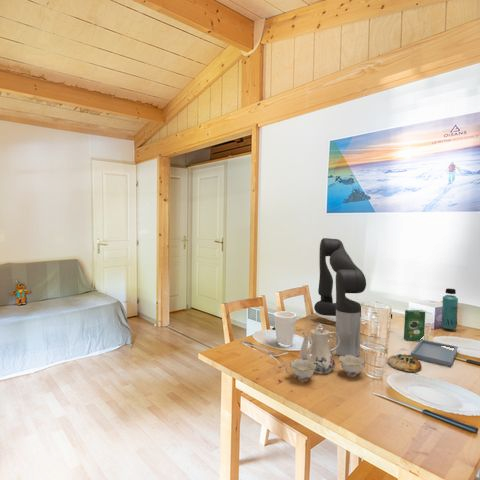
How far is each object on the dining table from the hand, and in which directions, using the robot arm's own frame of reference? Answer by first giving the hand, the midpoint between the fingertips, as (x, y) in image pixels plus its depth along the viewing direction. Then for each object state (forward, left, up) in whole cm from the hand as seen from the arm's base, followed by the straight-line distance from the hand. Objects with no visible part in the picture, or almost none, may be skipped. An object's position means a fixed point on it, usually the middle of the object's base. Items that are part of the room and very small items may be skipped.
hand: (389, 318), depth 151 cm
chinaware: (-55, +7, -8) cm, 56 cm away
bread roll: (-31, -14, -8) cm, 35 cm away
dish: (-13, -20, -8) cm, 25 cm away
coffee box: (0, -10, -8) cm, 13 cm away
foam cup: (-41, +31, -8) cm, 52 cm away
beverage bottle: (+25, -20, -8) cm, 33 cm away
